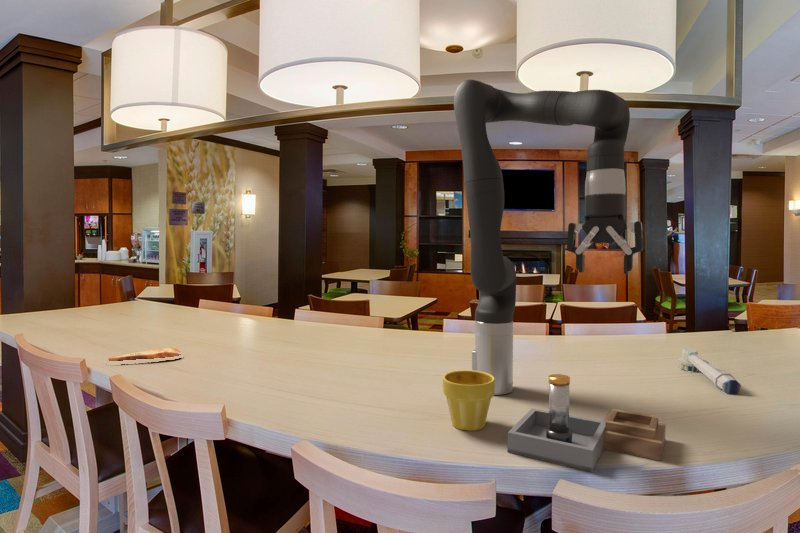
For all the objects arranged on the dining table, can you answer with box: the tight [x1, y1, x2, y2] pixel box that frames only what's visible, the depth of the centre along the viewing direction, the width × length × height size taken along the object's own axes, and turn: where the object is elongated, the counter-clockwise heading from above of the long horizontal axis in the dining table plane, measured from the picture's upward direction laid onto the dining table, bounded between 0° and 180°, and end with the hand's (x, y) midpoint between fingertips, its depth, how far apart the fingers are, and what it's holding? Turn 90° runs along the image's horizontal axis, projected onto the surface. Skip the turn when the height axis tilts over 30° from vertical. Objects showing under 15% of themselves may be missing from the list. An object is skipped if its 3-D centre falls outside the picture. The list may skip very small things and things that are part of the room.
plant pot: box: [442, 369, 495, 431], centre depth 96 cm, size 10×10×10 cm
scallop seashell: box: [108, 347, 181, 361], centre depth 151 cm, size 18×18×4 cm
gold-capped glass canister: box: [546, 373, 572, 444], centre depth 85 cm, size 4×4×12 cm
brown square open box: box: [602, 408, 667, 462], centre depth 86 cm, size 10×10×4 cm
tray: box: [507, 407, 606, 473], centre depth 86 cm, size 14×14×4 cm
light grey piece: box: [677, 347, 742, 395], centre depth 126 cm, size 5×7×25 cm
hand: (603, 273), depth 98 cm, fingers open, 8 cm apart
